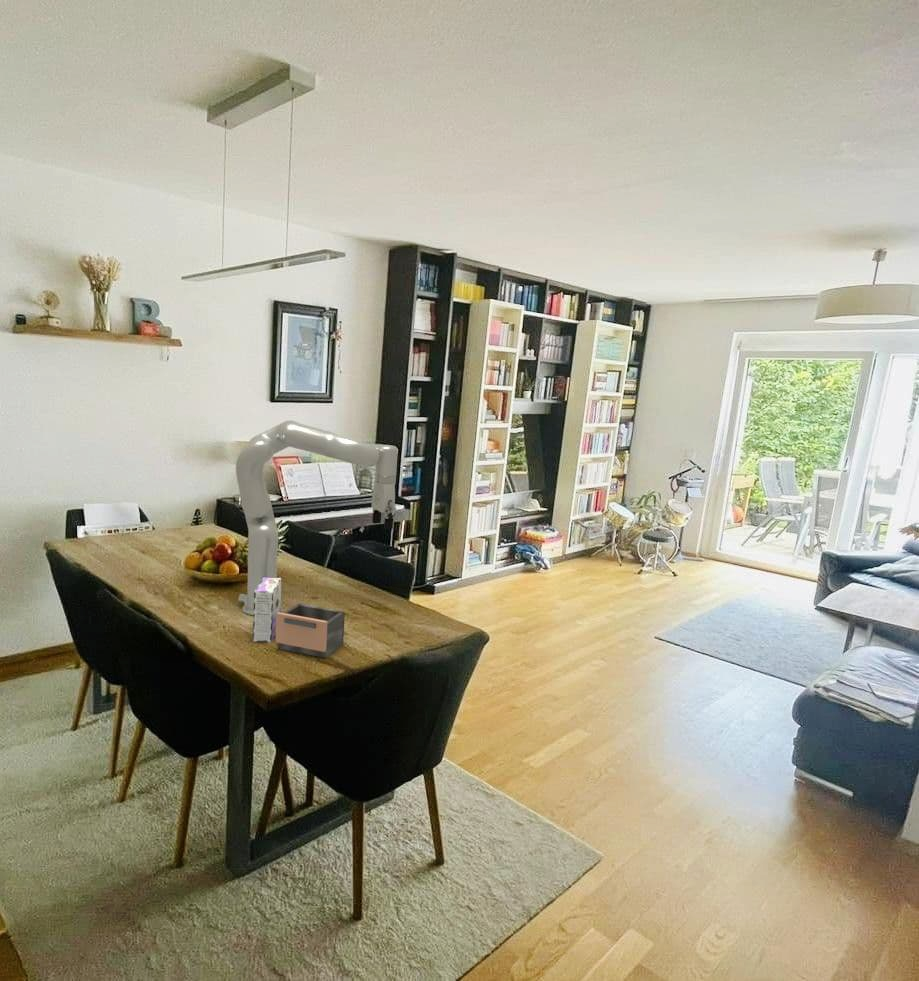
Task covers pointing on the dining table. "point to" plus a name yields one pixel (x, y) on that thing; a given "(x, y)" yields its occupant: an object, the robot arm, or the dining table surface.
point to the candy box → (266, 609)
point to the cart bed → (333, 628)
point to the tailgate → (301, 631)
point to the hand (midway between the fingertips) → (382, 526)
